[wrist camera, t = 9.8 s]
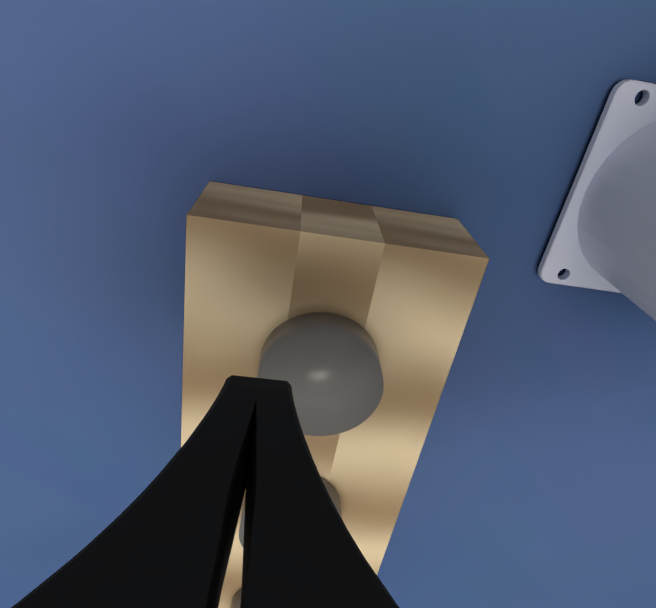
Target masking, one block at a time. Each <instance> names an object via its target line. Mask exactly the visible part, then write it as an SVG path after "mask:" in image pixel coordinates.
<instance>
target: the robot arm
mask: <svg viewBox="0 0 656 608" xmlns="http://www.w3.org/2000/svg"><path fill="white" fill-rule="evenodd" d="M641 90H642V92H643V97H642V99H641V101H640V102H639V103H637V104H635V101H634V100H635V96H636V95H637V93H638V92H640V91H641ZM562 269H566V271H565V272H564V274H562V275H560V276H558V273H559V271H560V270H562ZM538 276H539V277H540V278H541V279H542V280H543V281H545V282H547V283H554V284H561V285H568V286H575V287H582V288H589V289H597V290H604V291H611V292H618V293H622V294H624V295H625V296H626V297H627V298H628V299H630V300H631V301H632V302H633V303H634V304H636V305H637V306H638V307H639V308H640V309H642V310H643V311H644V312H645V313H647V314H648V315H649V316H650V317H651V318H653V319H654V320H655V321H656V84H653V83H648V82H642V81H637V80H631V79H627V80H622V81H620V82H618V83H617V84H616V85H615V86H614V87H613V89H612V91H611V93H610V95H609V97H608V100H607V102H606V105H605V107H604V110H603V112H602V114H601V117H600V119H599V122H598V124H597V127H596V129H595V131H594V134H593V136H592V139H591V141H590V144H589V146H588V148H587V151H586V153H585V156H584V158H583V160H582V163H581V165H580V168H579V170H578V173H577V175H576V177H575V180H574V182H573V185H572V187H571V190H570V192H569V194H568V197H567V199H566V202H565V204H564V207H563V209H562V211H561V214H560V216H559V219H558V221H557V224H556V226H555V228H554V231H553V233H552V236H551V238H550V240H549V243H548V245H547V248H546V250H545V253H544V255H543V257H542V260H541V262H540V265H539V267H538ZM245 489H246V492H245ZM244 494H245V516H244V541H243V566H242V590H241V604H240V608H399V607H398V605H397V604H396V602H395V601H394V600H393V598H392V597H391V595H390V594H389V592H388V591H387V589H386V588H385V586H384V585H383V584H382V582H381V581H380V579H379V578H378V576H377V575H376V573H375V572H374V570H373V569H372V568H371V566H370V565H369V563H368V562H367V560H366V559H365V557H364V556H363V554H362V552H361V551H360V549H359V547H358V546H357V544H356V542H355V541H354V539H353V538H352V536H351V534H350V533H349V531H348V529H347V527H346V525H345V524H344V522H343V520H342V518H341V517H340V515H339V513H338V511H337V509H336V507H335V505H334V503H333V502H332V499H331V497H330V495H329V493H328V491H327V489H326V487H325V485H324V483H323V481H322V479H321V476H320V474H319V472H318V470H317V467H316V465H315V463H314V460H313V458H312V455H311V453H310V450H309V447H308V445H307V442H306V440H305V437H304V434H303V431H302V428H301V425H300V422H299V419H298V415H297V412H296V408H295V404H294V400H293V394H292V386H291V385H290V384H289V382H288V381H282V380H273V379H264V378H255V377H245V376H236V375H231V376H230V377H228V378H227V379H226V381H225V383H224V385H223V387H222V389H221V391H220V392H219V394H218V396H217V398H216V399H215V401H214V403H213V404H212V406H211V407H210V409H209V410H208V412H207V413H206V415H205V416H204V418H203V419H202V420H201V422H200V423H199V425H198V426H197V427H196V429H195V430H194V431H193V433H192V434H191V436H190V437H189V438H188V440H187V441H186V442H185V443H184V445H183V446H182V447H181V448H180V450H179V451H178V452H177V453H176V454H175V456H174V457H173V458H172V459H171V460H170V462H169V463H168V464H167V465H166V466H165V468H164V469H163V470H162V471H161V472H160V474H159V475H158V476H157V477H156V478H155V479H154V480H153V481H152V482H151V483H150V485H149V486H148V487H147V488H146V489H145V490H144V491H143V492H142V493H141V494H140V495H139V496H138V497H137V498H136V499H135V500H134V501H133V502H132V503H131V504H130V505H129V506H128V507H127V508H126V509H125V510H124V511H123V512H122V513H121V514H120V515H119V516H118V517H117V518H116V519H115V520H114V521H113V522H112V523H111V524H110V525H109V526H108V527H107V528H105V529H104V530H103V531H102V532H101V533H100V534H99V535H98V536H97V537H96V538H95V539H94V540H93V541H92V542H90V543H89V544H88V545H87V546H86V547H85V548H84V549H83V550H81V551H80V552H79V553H78V554H77V555H76V556H74V557H73V558H72V559H71V560H70V561H69V562H67V563H66V564H65V565H64V566H62V567H61V568H60V569H59V570H57V571H56V572H55V573H54V574H53V575H51V576H50V577H49V578H48V579H46V580H45V581H44V582H43V583H41V584H40V585H39V586H38V587H37V588H35V589H34V590H33V591H32V592H30V593H29V594H28V595H27V596H25V597H24V598H23V599H22V600H20V601H19V602H18V603H17V604H15V605H14V606H13V607H11V608H218V607H219V601H220V596H221V591H222V587H223V583H224V578H225V574H226V570H227V566H228V562H229V557H230V553H231V549H232V545H233V540H234V536H235V532H236V528H237V524H238V519H239V515H240V511H241V507H242V502H243V498H244Z"/></svg>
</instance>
